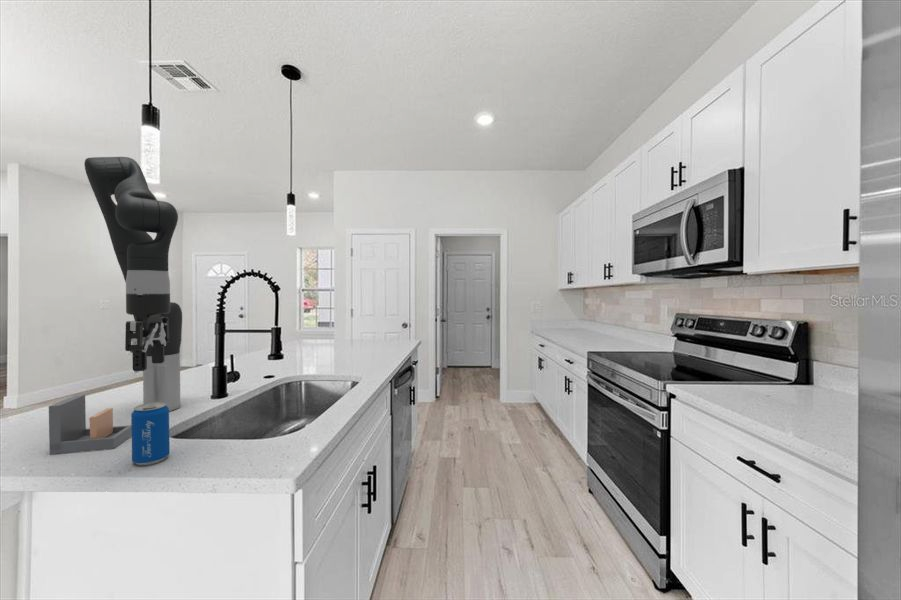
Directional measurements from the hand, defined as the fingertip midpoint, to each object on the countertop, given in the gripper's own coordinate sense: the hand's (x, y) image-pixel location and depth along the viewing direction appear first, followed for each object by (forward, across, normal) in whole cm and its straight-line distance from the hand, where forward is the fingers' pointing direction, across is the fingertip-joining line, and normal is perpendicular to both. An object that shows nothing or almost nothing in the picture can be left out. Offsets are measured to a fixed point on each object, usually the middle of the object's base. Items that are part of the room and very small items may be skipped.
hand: (149, 366), depth 83 cm
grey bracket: (+20, -14, -17) cm, 30 cm away
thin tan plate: (+19, -14, -15) cm, 28 cm away
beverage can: (+21, 0, 0) cm, 21 cm away
